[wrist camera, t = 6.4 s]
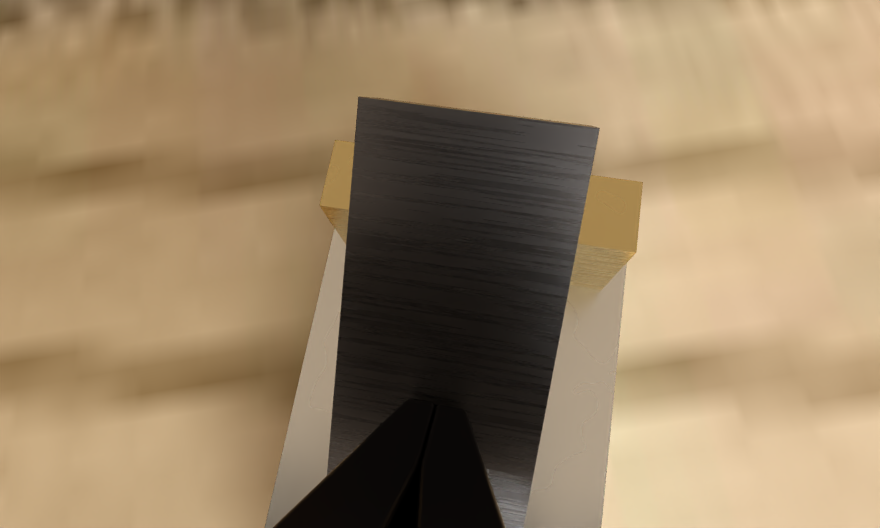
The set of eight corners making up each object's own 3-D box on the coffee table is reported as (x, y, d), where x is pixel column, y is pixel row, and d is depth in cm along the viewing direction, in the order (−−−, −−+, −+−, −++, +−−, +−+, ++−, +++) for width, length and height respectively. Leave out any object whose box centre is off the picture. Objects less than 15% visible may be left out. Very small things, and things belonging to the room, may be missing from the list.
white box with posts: (544, 707, 15) (609, 947, 8) (285, 650, 16) (135, 826, 9) (595, 251, 19) (673, 138, 11) (377, 218, 19) (322, 92, 12)
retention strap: (466, 839, 10) (603, 128, 7) (295, 797, 10) (352, 95, 7) (473, 742, 12) (588, 124, 8) (324, 708, 12) (381, 98, 9)
